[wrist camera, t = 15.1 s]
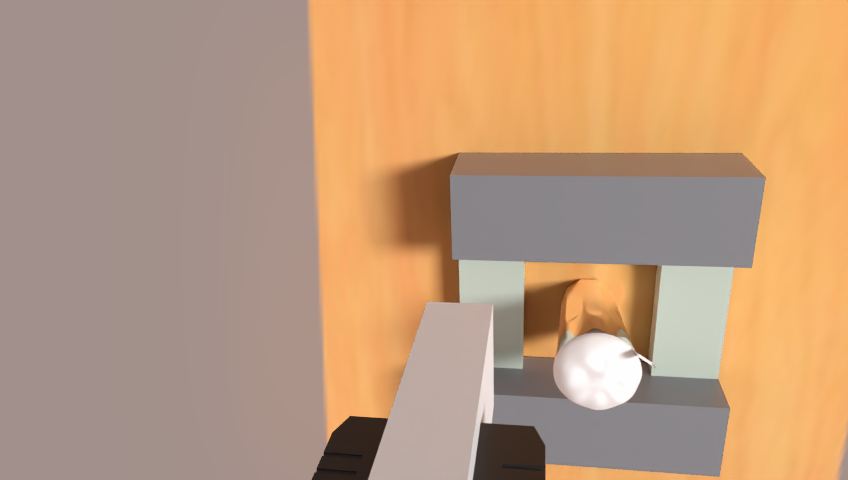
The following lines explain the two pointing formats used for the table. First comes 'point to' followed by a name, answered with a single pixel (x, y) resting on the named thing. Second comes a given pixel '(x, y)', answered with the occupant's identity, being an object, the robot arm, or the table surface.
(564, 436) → the frame
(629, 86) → the table surface
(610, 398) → the milkshake
